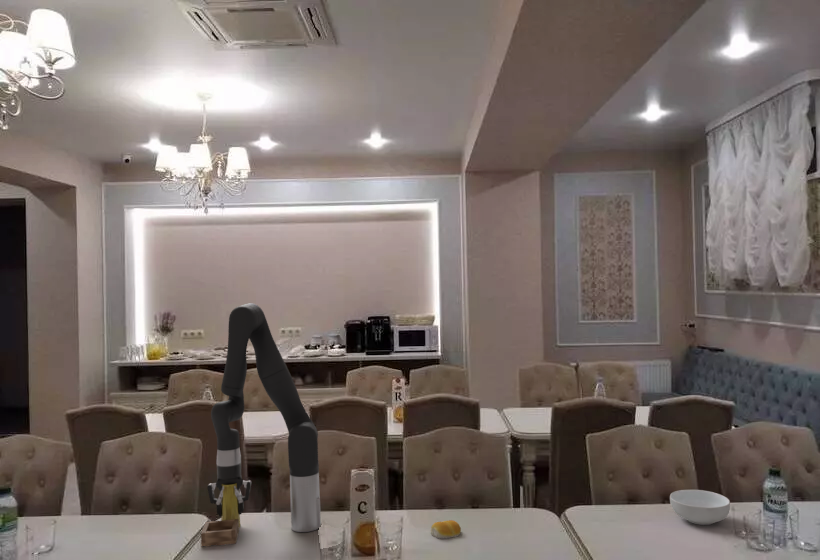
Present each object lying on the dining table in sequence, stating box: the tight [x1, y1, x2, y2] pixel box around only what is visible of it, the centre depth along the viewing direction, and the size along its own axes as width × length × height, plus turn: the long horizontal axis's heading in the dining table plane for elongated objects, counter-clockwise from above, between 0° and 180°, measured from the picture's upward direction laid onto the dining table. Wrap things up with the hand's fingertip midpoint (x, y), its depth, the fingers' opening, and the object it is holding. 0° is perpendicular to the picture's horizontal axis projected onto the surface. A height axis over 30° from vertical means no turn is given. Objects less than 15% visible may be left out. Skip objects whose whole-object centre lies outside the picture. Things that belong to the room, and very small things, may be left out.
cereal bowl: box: [669, 489, 731, 526], centre depth 197 cm, size 17×17×7 cm
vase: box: [220, 483, 241, 528], centre depth 206 cm, size 6×6×14 cm
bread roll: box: [430, 519, 462, 539], centre depth 194 cm, size 8×9×4 cm
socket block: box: [200, 519, 240, 548], centre depth 196 cm, size 10×10×4 cm
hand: (230, 514), depth 206 cm, fingers closed on vase, 5 cm apart
